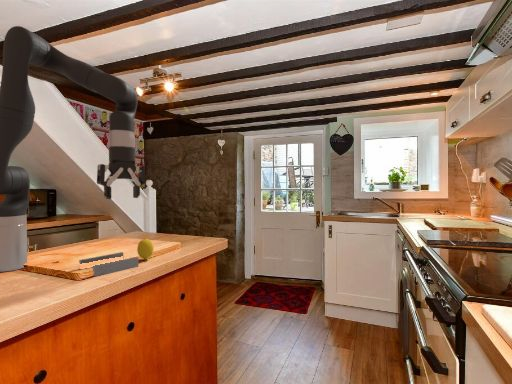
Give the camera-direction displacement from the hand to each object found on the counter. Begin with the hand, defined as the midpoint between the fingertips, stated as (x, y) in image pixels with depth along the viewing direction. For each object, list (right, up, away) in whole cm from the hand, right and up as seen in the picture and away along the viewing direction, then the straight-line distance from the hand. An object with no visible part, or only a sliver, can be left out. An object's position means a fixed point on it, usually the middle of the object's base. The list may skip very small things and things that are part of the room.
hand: (122, 198), depth 91 cm
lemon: (+1, -23, +15) cm, 28 cm away
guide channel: (-7, -23, +5) cm, 25 cm away
